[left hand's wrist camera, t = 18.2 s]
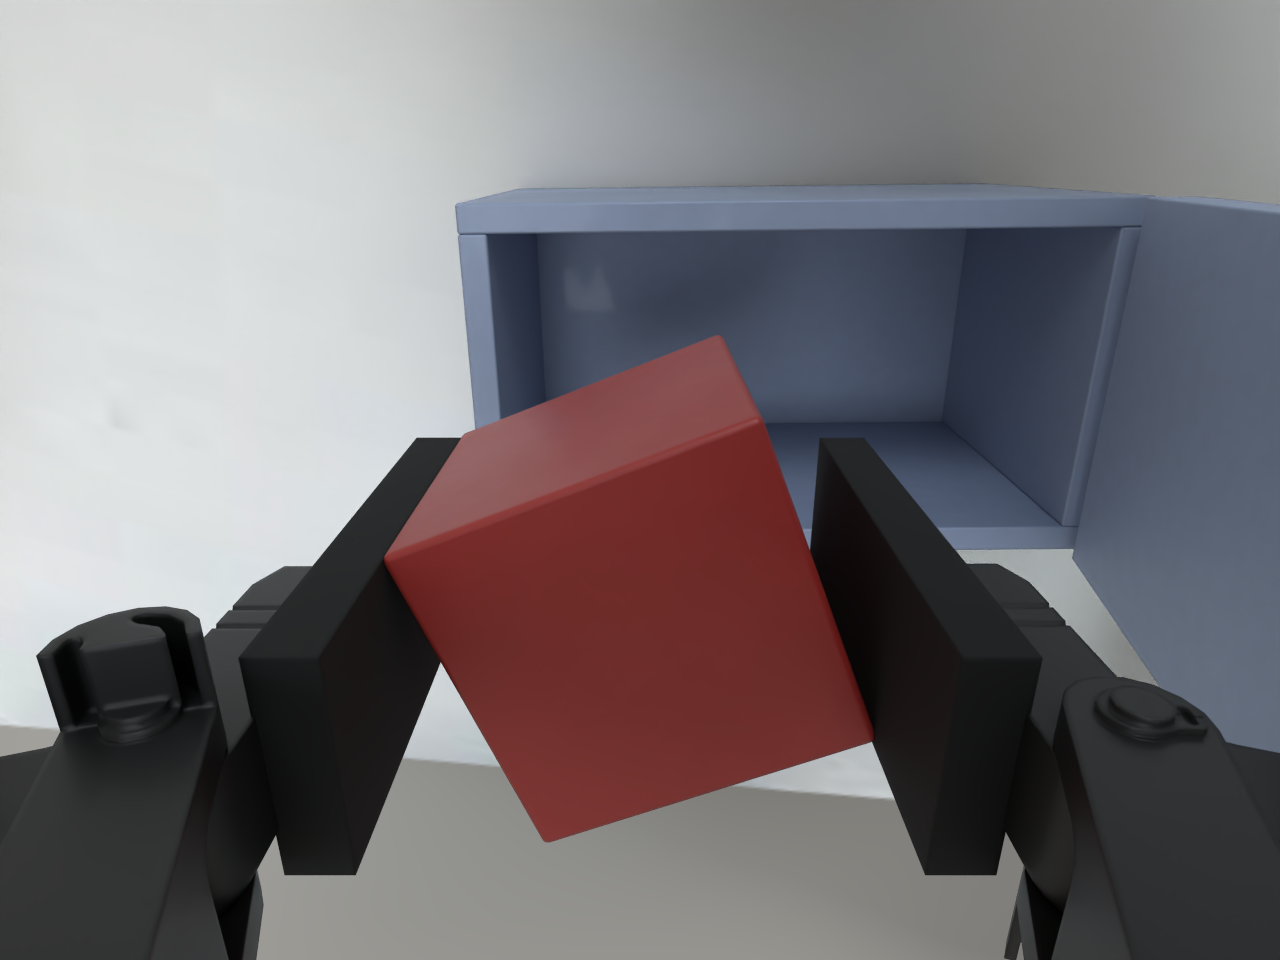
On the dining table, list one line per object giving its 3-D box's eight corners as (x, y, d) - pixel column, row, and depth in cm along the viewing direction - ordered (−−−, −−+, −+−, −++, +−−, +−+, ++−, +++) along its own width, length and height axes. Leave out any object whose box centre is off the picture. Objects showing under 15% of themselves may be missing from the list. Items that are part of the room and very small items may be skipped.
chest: (532, 436, 33) (486, 555, 23) (516, 188, 30) (454, 203, 20) (950, 432, 33) (1082, 549, 23) (984, 183, 30) (1157, 195, 20)
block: (570, 652, 15) (543, 847, 11) (461, 433, 14) (377, 559, 9) (807, 571, 15) (878, 743, 10) (721, 331, 13) (762, 415, 9)
